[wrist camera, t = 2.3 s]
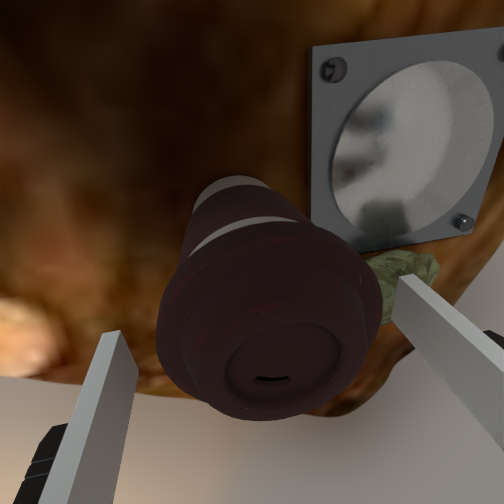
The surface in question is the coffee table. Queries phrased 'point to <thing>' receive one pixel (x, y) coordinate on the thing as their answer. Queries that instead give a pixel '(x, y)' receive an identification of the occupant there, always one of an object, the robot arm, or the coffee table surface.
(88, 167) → the coffee table surface
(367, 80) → the duct flange
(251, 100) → the coffee table surface
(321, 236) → the coffee cup
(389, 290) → the seashell
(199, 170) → the coffee table surface
